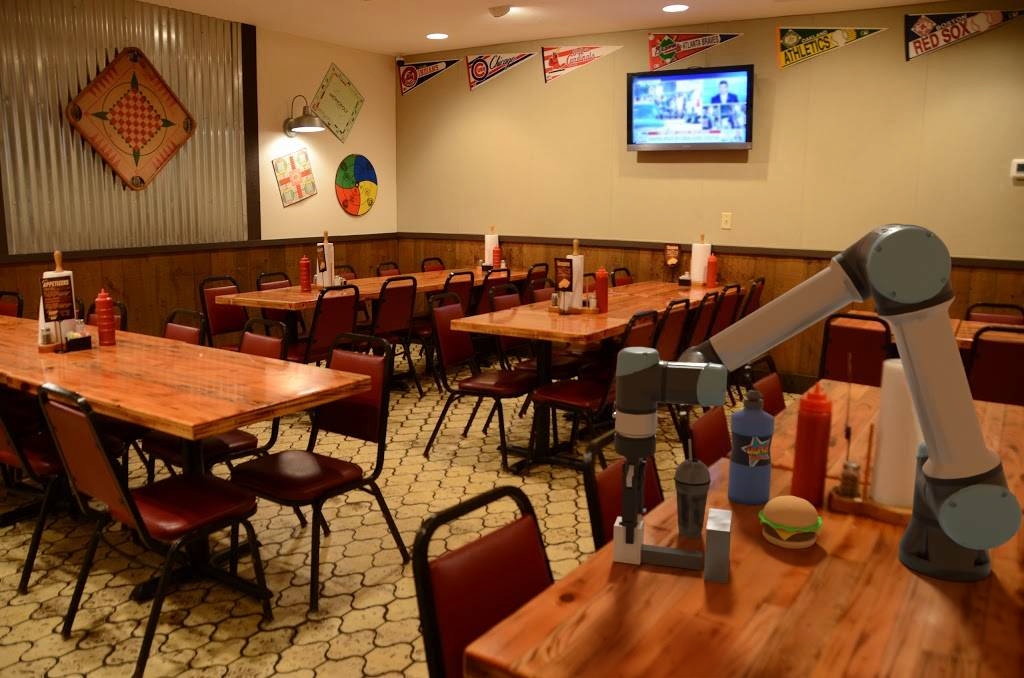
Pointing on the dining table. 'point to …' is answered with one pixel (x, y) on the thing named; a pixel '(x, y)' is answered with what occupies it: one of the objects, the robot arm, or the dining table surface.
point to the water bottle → (750, 452)
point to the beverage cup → (691, 495)
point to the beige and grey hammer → (655, 551)
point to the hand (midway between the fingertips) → (631, 552)
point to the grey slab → (717, 545)
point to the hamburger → (790, 522)
